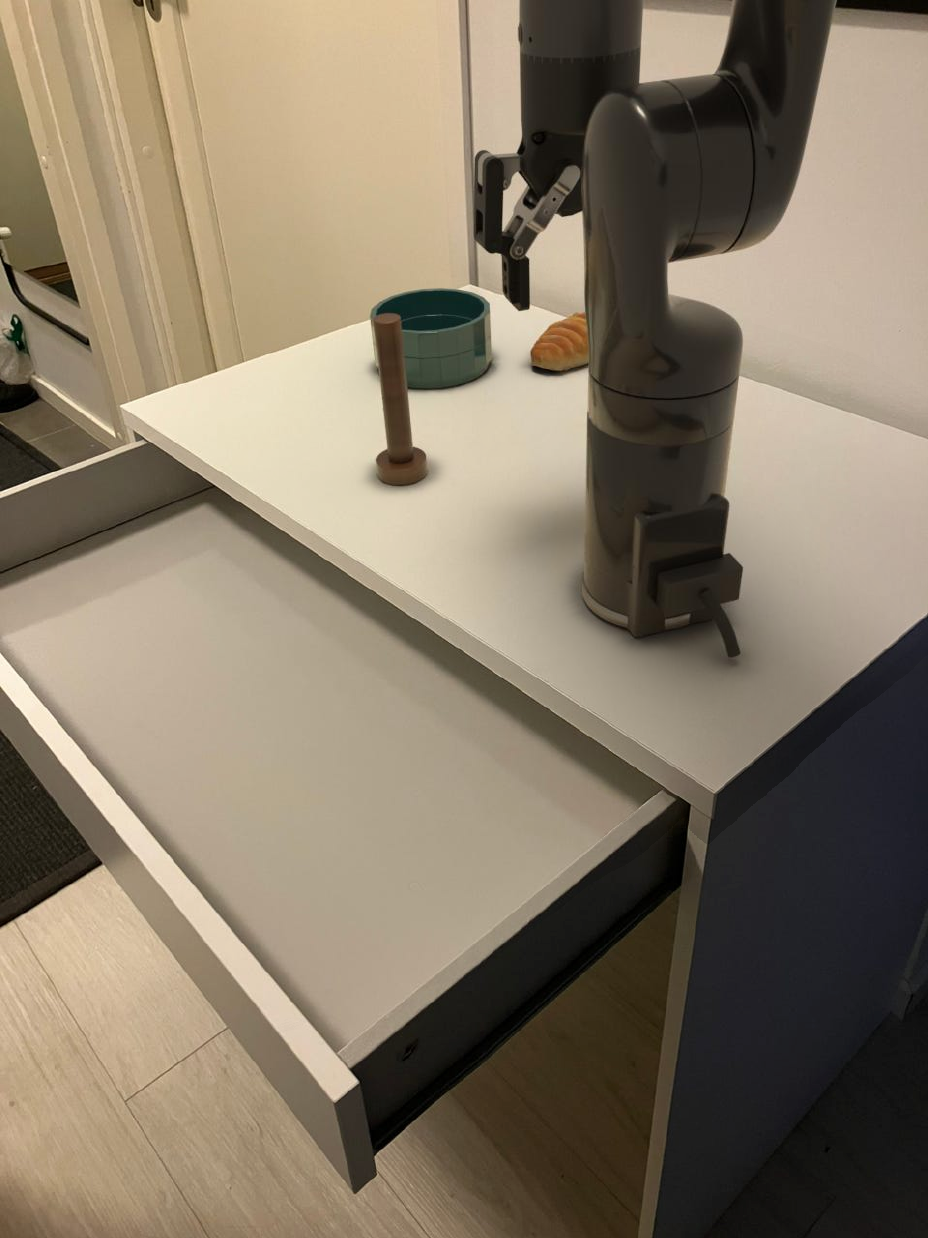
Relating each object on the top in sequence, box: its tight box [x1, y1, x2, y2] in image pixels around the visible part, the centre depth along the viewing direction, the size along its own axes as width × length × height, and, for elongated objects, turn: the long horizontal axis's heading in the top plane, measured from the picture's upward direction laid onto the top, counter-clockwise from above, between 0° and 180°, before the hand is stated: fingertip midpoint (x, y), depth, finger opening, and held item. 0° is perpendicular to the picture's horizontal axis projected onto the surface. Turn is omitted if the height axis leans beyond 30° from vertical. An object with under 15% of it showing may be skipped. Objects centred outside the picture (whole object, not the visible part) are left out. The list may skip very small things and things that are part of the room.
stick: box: [373, 313, 428, 486], centre depth 85 cm, size 4×4×14 cm
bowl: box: [369, 287, 493, 390], centre depth 105 cm, size 12×12×6 cm
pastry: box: [529, 311, 589, 373], centre depth 106 cm, size 9×7×4 cm
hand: (576, 297), depth 73 cm, fingers open, 8 cm apart
